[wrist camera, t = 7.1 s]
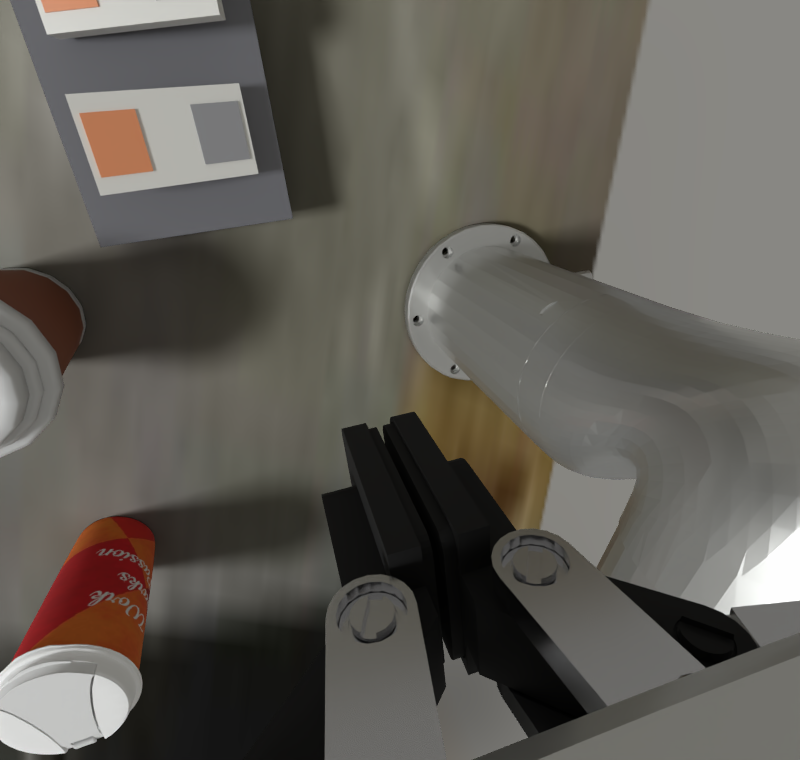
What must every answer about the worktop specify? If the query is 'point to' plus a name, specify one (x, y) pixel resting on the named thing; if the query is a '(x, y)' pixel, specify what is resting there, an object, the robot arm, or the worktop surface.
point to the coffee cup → (33, 352)
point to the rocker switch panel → (163, 68)
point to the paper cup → (82, 644)
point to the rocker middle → (123, 15)
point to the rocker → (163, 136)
